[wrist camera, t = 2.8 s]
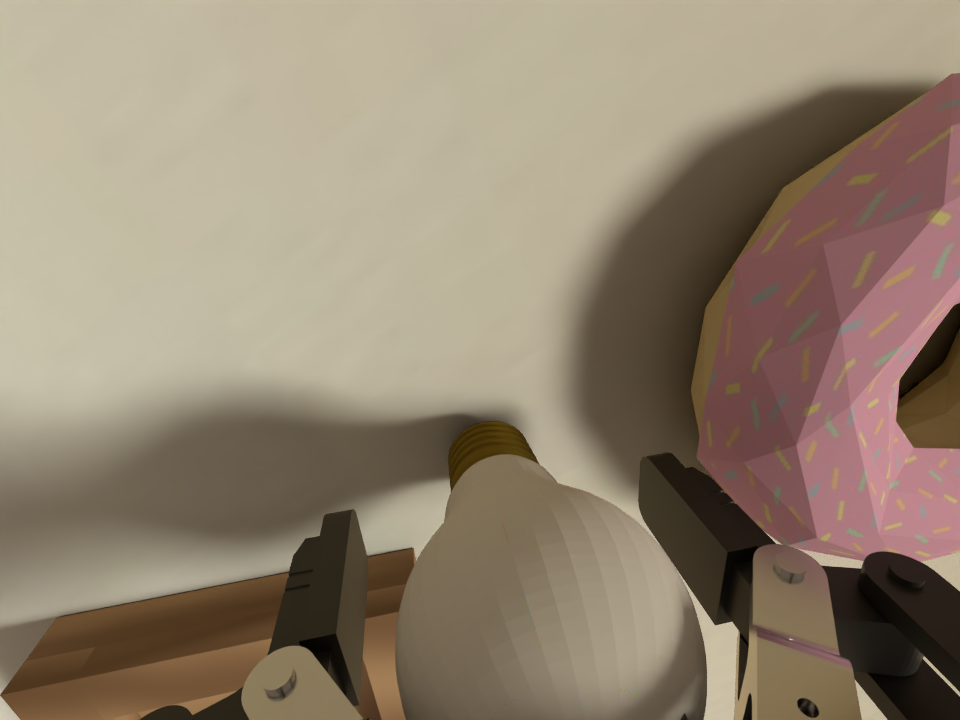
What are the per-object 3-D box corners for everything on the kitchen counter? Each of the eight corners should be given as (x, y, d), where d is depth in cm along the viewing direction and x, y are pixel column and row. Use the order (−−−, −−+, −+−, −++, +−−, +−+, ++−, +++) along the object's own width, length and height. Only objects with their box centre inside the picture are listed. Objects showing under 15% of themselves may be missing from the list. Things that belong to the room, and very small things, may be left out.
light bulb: (430, 533, 17) (469, 966, 8) (367, 398, 14) (318, 807, 5) (583, 479, 17) (793, 842, 8) (547, 336, 15) (793, 631, 6)
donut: (1007, 433, 20) (1183, 513, 16) (679, 544, 20) (763, 660, 15) (1124, 10, 14) (1481, -62, 9) (637, 157, 13) (764, 157, 9)
